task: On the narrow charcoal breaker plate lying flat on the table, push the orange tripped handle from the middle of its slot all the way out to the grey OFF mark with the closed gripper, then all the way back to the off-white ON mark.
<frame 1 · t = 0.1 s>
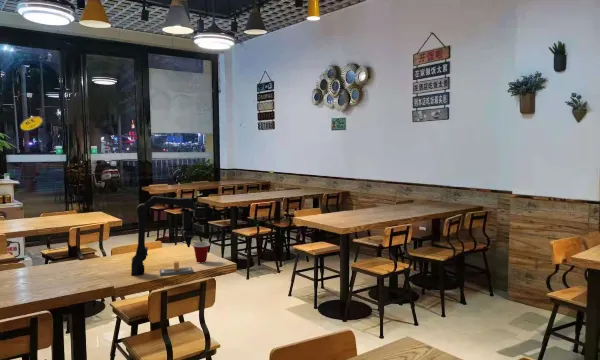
hand: (188, 245, 260), 15 cm above the table, tool pointing down, fingers open, 9 cm apart
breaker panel: (176, 272, 255), on the table
tripped handle: (176, 265, 254), point 4 cm above the table, slide at 4.0 cm
plastic cup: (201, 262, 279), on the table
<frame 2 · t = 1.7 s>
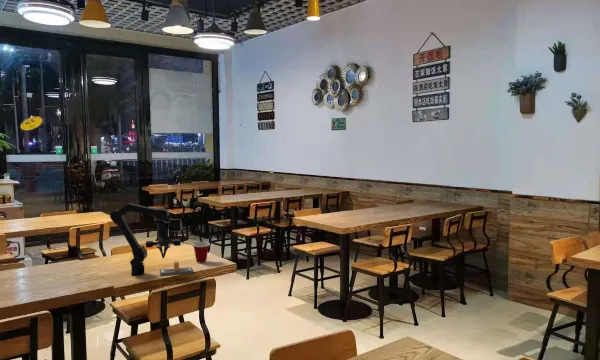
hand: (163, 258, 252), 9 cm above the table, tool pointing down, fingers closed
nothing on the table moved.
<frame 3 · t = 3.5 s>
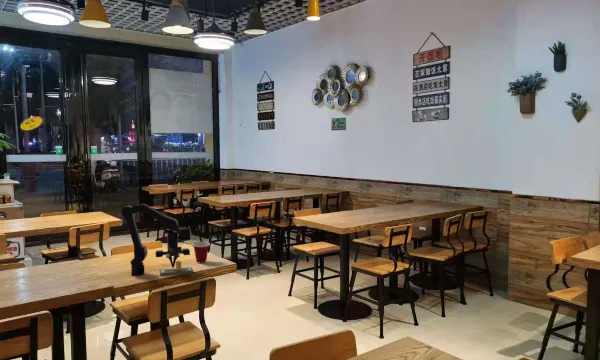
hand: (172, 267, 254), 3 cm above the table, tool pointing down, fingers closed
tripped handle: (178, 265, 255), point 4 cm above the table, slide at 5.3 cm, touching gripper
everything else where it was.
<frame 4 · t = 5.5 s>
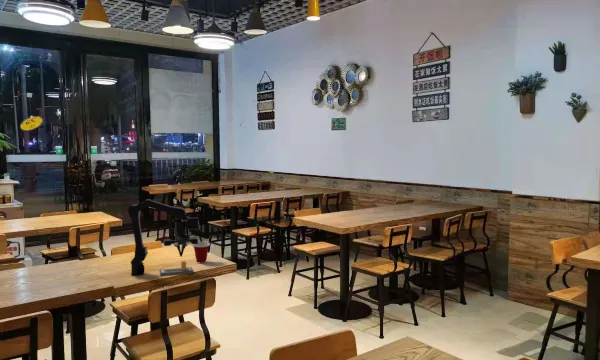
hand: (181, 256, 255), 9 cm above the table, tool pointing down, fingers closed
tripped handle: (183, 265, 256), point 4 cm above the table, slide at 8.1 cm
everything else where it was.
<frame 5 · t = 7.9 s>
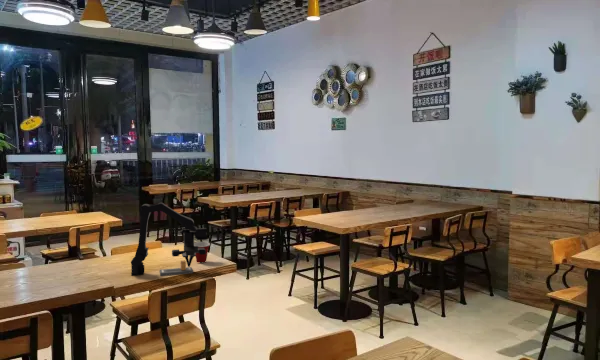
hand: (188, 266, 257), 3 cm above the table, tool pointing down, fingers closed
tripped handle: (183, 265, 256), point 4 cm above the table, slide at 7.8 cm, touching gripper
everything else where it was.
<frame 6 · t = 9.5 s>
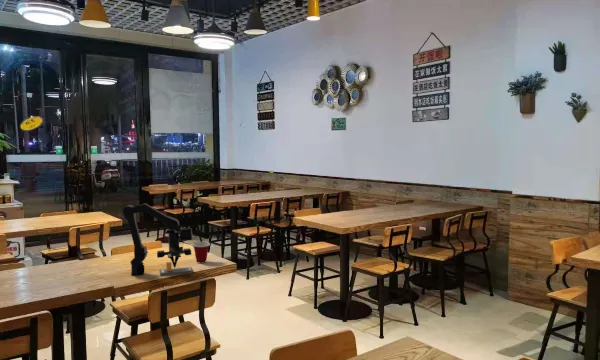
hand: (174, 267, 254), 3 cm above the table, tool pointing down, fingers closed
tripped handle: (168, 266, 253), point 4 cm above the table, slide at -0.1 cm, touching gripper
everything else where it was.
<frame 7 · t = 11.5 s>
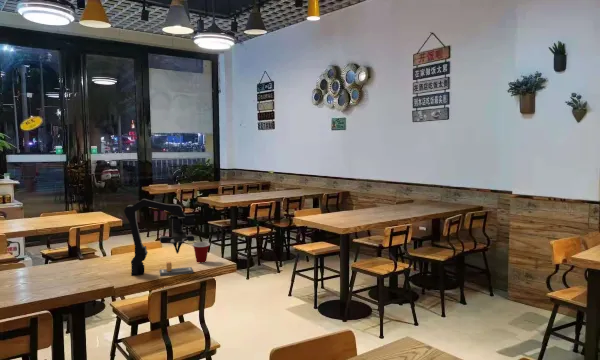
hand: (177, 253, 256), 11 cm above the table, tool pointing down, fingers closed
tripped handle: (168, 266, 253), point 4 cm above the table, slide at -0.1 cm
everything else where it was.
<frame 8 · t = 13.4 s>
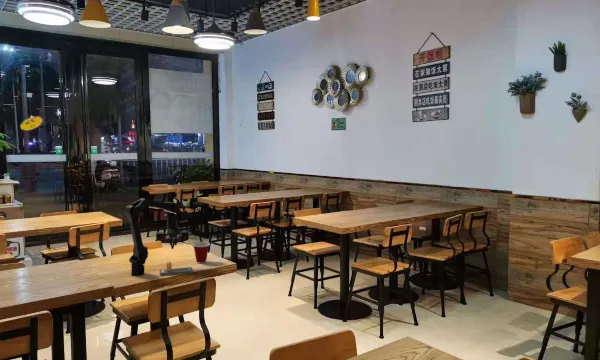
hand: (172, 248, 267), 11 cm above the table, tool pointing down, fingers closed
nothing on the table moved.
at the end: tripped handle slide at -0.1 cm; plastic cup moved 0.2 cm from its start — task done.
